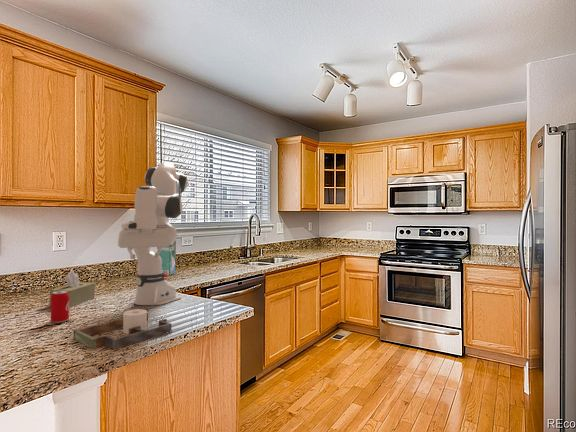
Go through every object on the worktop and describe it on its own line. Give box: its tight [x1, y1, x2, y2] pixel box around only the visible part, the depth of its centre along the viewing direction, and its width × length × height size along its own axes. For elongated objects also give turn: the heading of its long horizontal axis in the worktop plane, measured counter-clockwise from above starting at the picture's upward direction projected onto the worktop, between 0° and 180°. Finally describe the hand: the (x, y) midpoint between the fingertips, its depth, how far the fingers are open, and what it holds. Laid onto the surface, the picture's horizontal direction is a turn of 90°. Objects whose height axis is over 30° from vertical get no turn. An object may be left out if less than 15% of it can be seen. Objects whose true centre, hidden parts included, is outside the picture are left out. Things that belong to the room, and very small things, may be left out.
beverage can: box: [50, 291, 70, 324], centre depth 143 cm, size 6×6×12 cm
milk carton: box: [159, 241, 177, 276], centre depth 251 cm, size 9×9×25 cm
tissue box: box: [49, 270, 95, 309], centre depth 172 cm, size 19×10×16 cm, turn 175°
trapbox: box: [73, 312, 173, 350], centre depth 129 cm, size 28×20×3 cm
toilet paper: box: [122, 308, 148, 335], centre depth 135 cm, size 8×11×7 cm
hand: (144, 258), depth 145 cm, fingers open, 8 cm apart
